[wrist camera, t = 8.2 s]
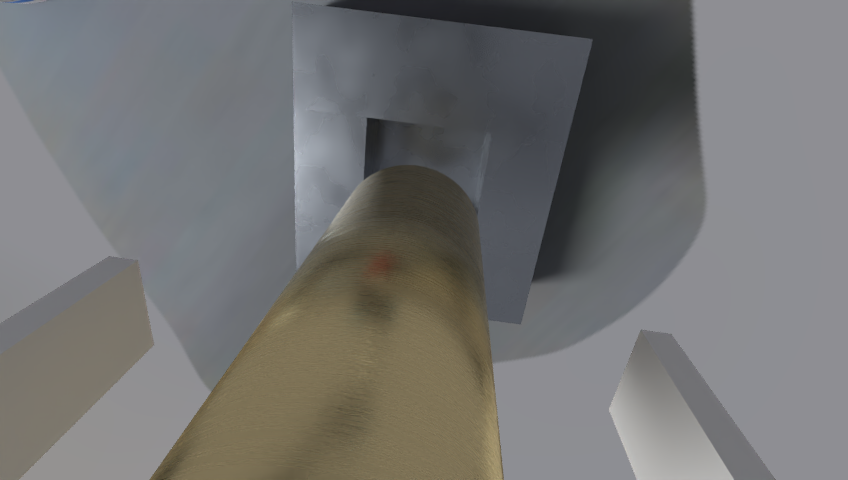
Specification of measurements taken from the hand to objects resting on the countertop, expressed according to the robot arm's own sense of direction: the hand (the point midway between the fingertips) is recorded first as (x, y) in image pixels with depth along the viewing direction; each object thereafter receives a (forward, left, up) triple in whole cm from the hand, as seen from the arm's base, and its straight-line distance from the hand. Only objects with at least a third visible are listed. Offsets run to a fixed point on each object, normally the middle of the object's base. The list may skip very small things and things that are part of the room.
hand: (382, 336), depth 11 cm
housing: (0, 0, -18) cm, 18 cm away
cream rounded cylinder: (0, 0, -7) cm, 7 cm away
